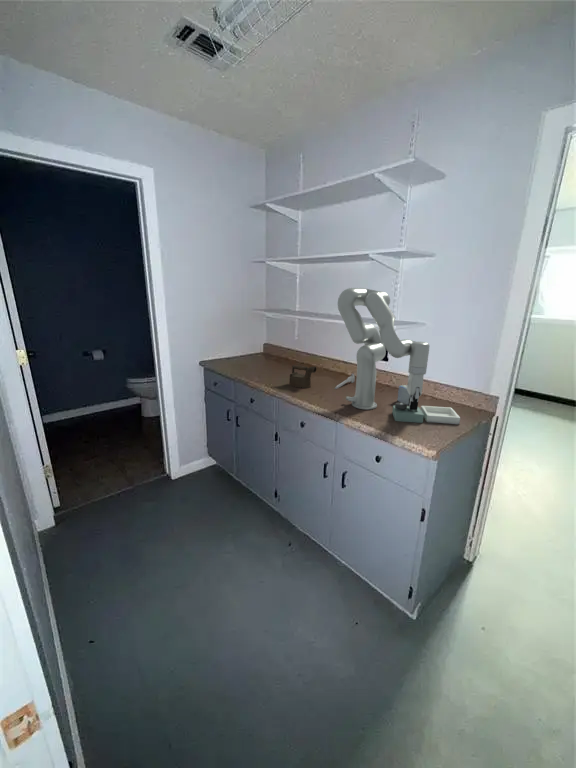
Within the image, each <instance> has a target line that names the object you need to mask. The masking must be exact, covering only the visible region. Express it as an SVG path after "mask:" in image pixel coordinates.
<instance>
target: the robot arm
mask: <svg viewBox="0 0 576 768" xmlns="http://www.w3.org/2000/svg"><path fill="white" fill-rule="evenodd" d="M390 304H391V298H390V296H389V294H388V293H387V292H385V291H380V290H375V289H370V288H364V287H351V288H350V287H348V288H346V289H343V290H342V291H341V293H340V294H339V297H338V299H337V309H338V313H339V314H340V316H341V318H342V320H343V323H344V325H345V328H346V329H347V332H348V334H349V337H350V339H351V340H352V342H353V343H354V344H357V345H361V344H364V345H362V346H361V347H359V348H358V349H357V352H356V354H355V356H356V380H355V381H356V382H355V394H354V396H352V397H351V396H345V397H346V398H345V401H348V402H351V406H352V407H353V408H355V409H359V410H375V409H376V408H377V407H378V404H377V402H375V396H376V395H375V392H376V382H377V365H376V364H377V362H380V361H381V360H382V361H383V359H384V358H385V357H386V353H388V354H389V355H390V356H391V357H393V358H395V359H401V358H404V357H407V356H409V361H408V362H409V363H408V371H407V372H408V373H409V374H408V378H407V379H408V380H407V384H406V386H407V391H408V393H409V395H410V396H409V403H408V405H407V406H409V405H410V410H417V408H418V407H419V398H420V397H421V396H422V393H423V387H424V386H423V385H424V376H425V375H426V374H427V369H428V363H429V362H428V361H429V356H430V355H429V354H430V344H429V343H428V342H426V341H416V340H413V339H408V338H407V339H400V338H399V337H398V334H397V333H396V330H395V322H396V315H395V314H394V313H393V311H392V309H391V308H390ZM357 306H364V307H366V308H367V310H368V312H369V313H370V315H371V316H372V319H374V322H375V323H376V325H377V327H378V329H377V327H376V326H375V325H373V324H372V323H369V322H368V323H365V322H364V320H363V319H362V316H361V314H360V312H359V311H358V310H357V309H356V307H357ZM386 351H387V352H386ZM410 397H412V400H411V402H410Z"/></svg>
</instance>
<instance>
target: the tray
mask: <svg viewBox="0 0 576 768" xmlns="http://www.w3.org/2000/svg"><path fill="white" fill-rule="evenodd" d="M420 409H421V411H422V413H423V414H424V416H423V420H425V422H426V423H433V424H436V423H437V424H447V425H448V424H449V425H460V422H461V417H460V415H459V414H458V413H457V412H456V411H455V409H453V408H452V407H450V406H449V407H448V406H447V407H446V406H445V407H444V406H434V405H433V406H432V405H421V406H420Z"/></svg>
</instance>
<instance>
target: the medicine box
mask: <svg viewBox="0 0 576 768" xmlns="http://www.w3.org/2000/svg"><path fill="white" fill-rule="evenodd" d="M397 391H398V392H397V402H398V403H405V404H407V406H408V403H409V396H410V395H409V393H408V391H407V384H404V385H399V386H398V390H397Z"/></svg>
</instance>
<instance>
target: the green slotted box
mask: <svg viewBox="0 0 576 768" xmlns="http://www.w3.org/2000/svg"><path fill="white" fill-rule="evenodd" d="M391 411H392V412H391V413H392V415H393V419H394V421H395V422H404V423H418V424H423V422H424V417H423V416H424V414H423V413H422V411H421V407H419V406H418V408H417V410H416V412H409V406H408V405H407V404H405V403H401V402H395V404H394V405H392V410H391Z"/></svg>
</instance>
